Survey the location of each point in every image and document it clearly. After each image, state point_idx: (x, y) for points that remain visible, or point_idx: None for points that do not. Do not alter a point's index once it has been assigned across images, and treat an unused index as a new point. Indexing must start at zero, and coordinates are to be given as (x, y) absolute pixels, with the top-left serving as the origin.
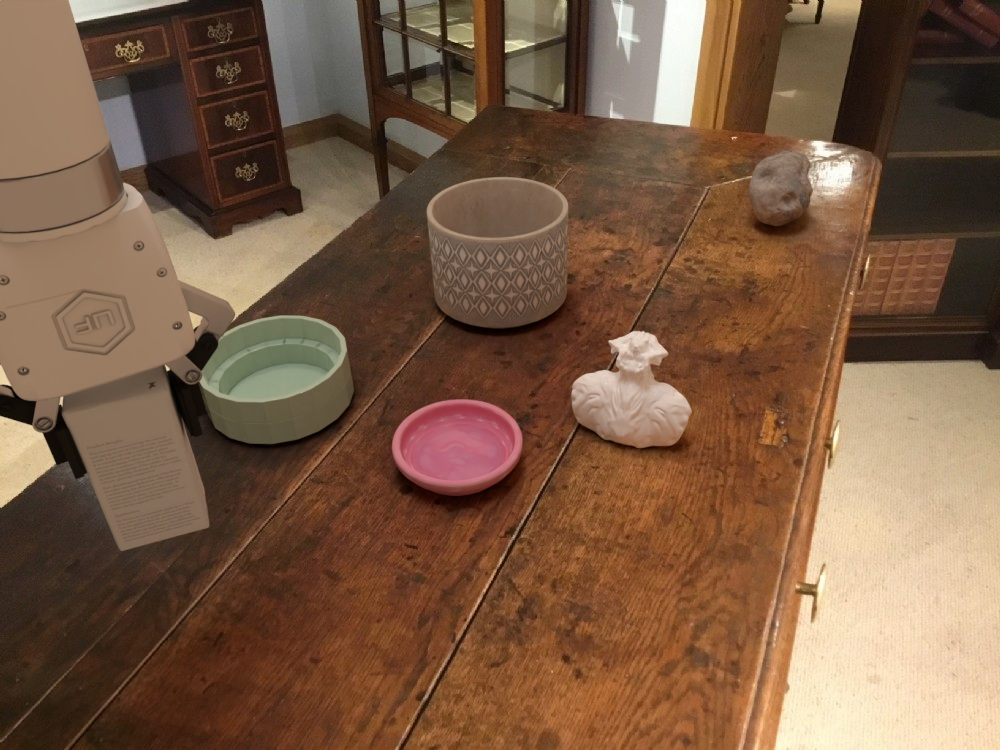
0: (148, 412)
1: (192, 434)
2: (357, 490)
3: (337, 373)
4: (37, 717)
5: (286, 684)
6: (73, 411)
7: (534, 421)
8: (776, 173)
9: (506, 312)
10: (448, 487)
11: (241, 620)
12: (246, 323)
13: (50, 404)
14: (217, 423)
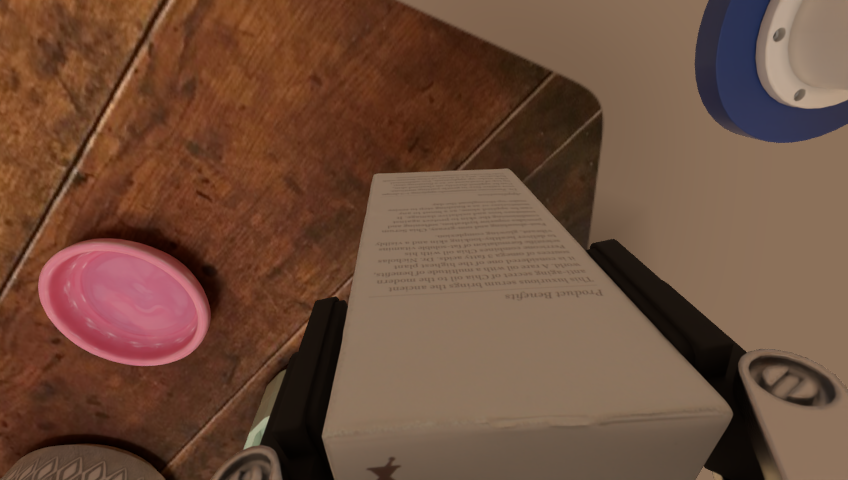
0: (417, 360)
1: (338, 302)
2: (263, 283)
3: (257, 422)
4: (581, 113)
5: (348, 59)
6: (693, 411)
7: None
8: None
9: (69, 464)
10: (135, 247)
11: (389, 160)
12: None
13: (820, 464)
14: None
